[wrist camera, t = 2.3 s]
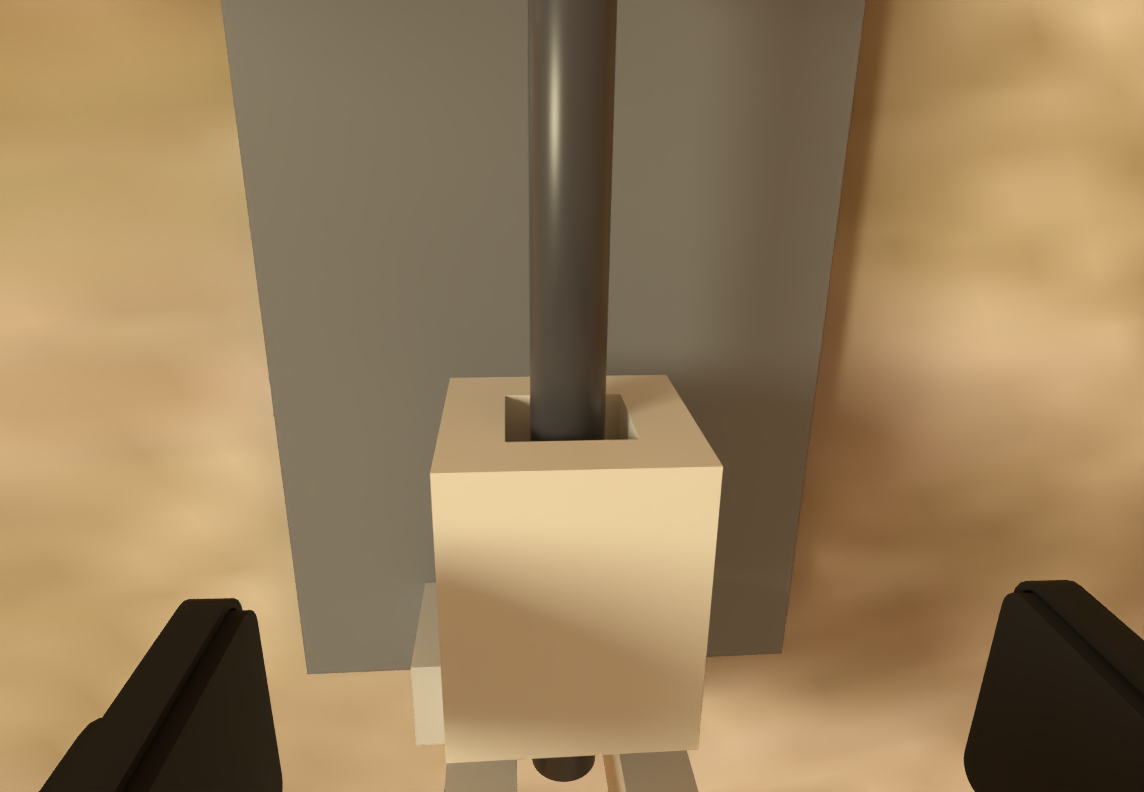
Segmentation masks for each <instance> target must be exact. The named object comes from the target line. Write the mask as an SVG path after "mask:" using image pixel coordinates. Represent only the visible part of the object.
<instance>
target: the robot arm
mask: <svg viewBox="0 0 1144 792" xmlns="http://www.w3.org/2000/svg"><path fill="white" fill-rule="evenodd" d="M964 767H965V771H966V775H967V778H968V780H969V782H970V784H971V786H972V788H973V790H974V791H975V792H1144V640H1143V639H1141V638H1140V637H1139V636H1138V635H1137V634H1136V633H1134V632H1133V631H1132V630H1131V629H1130V628H1129V627H1128V626H1126V625H1125V624H1124V623H1123V622H1122V621H1121V620H1119V619H1118V618H1117V617H1116V616H1115V615H1114V614H1113V613H1111V612H1110V611H1109V610H1108V609H1107V608H1106V607H1105V606H1103V605H1102V604H1101V603H1100V602H1099V601H1098V600H1096V599H1095V598H1094V597H1093V596H1092V595H1091V594H1090V593H1088V592H1087V591H1086V590H1085V589H1084V588H1083V587H1081V586H1080V585H1078V584H1077V583H1075V582H1074V581H1069V580H1047V581H1025V582H1022V583H1020V584H1019V585H1018V586H1017V587H1016V588H1015V590H1014V593H1011V594H1008V595H1007V596H1006V597H1005V598H1004V600H1003V603H1002V606H1001V610H1000V614H999V618H998V622H997V626H996V630H995V634H994V638H993V642H992V646H991V650H990V654H989V658H988V662H987V666H986V669H985V673H984V677H983V681H982V685H981V689H980V693H979V697H978V701H977V705H976V709H975V713H974V717H973V721H972V725H971V729H970V733H969V737H968V741H967V745H966V749H965V753H964ZM282 783H283V782H282V773H281V767H280V760H279V754H278V748H277V741H276V735H275V729H274V722H273V716H272V710H271V703H270V697H269V691H268V684H267V678H266V672H265V665H264V659H263V653H262V646H261V640H260V634H259V627H258V621H257V617H256V614H255V613H254V611H252V610H242V607H241V604H240V602H239V601H238V600H237V599H235V598H224V599H188V600H185V601H184V602H183V603H182V604H181V605H180V606H179V607H178V608H177V610H176V611H175V613H174V614H173V616H172V617H171V619H170V620H169V622H168V623H167V624H166V626H165V627H164V629H163V630H162V632H161V633H160V635H159V636H158V638H157V639H156V640H155V642H154V643H153V645H152V646H151V648H150V649H149V651H148V652H147V653H146V655H145V656H144V658H143V659H142V661H141V662H140V664H139V665H138V667H137V668H136V669H135V671H134V672H133V674H132V675H131V677H130V678H129V680H128V681H127V683H126V684H125V685H124V687H123V688H122V690H121V691H120V693H119V694H118V696H117V697H116V698H115V700H114V701H113V703H112V704H111V706H110V707H109V709H108V710H107V712H106V713H105V714H104V716H103V717H102V718H99V719H97V720H95V721H93V722H91V723H90V724H89V725H88V726H87V727H86V728H85V729H84V730H83V731H82V732H81V734H80V735H79V736H78V737H77V739H76V740H75V742H74V743H73V744H72V746H71V747H70V749H69V750H68V751H67V753H66V754H65V756H64V757H63V759H62V760H61V761H60V763H59V764H58V766H57V767H56V768H55V770H54V771H53V773H52V774H51V776H50V777H49V778H48V780H47V781H46V783H45V784H44V785H43V787H42V788H41V790H40V791H39V792H282Z"/></svg>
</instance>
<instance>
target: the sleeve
mask: <svg viewBox="0 0 1144 792" xmlns="http://www.w3.org/2000/svg"><path fill="white" fill-rule="evenodd" d="M722 473H723V466H722V464H721V462H720V461H719V459H718V458H717V456H716V454H715V453H714V451H713V449H712V448H711V446H710V445H709V443H708V441H707V440H706V438H705V437H704V435H703V433H702V432H701V430H700V428H699V427H698V425H697V424H696V422H695V420H694V419H693V417H692V416H691V414H690V412H689V411H688V409H687V407H686V406H685V404H684V403H683V401H682V399H681V398H680V396H679V395H678V393H677V391H676V390H675V388H674V386H673V385H672V383H671V382H670V380H669V378H668V377H667V375H617V376H606V402H605V436H604V440H583V441H534V442H530V377H470V378H450V380H449V385H448V390H447V395H446V399H445V404H444V409H443V414H442V418H441V423H440V428H439V433H438V438H437V442H436V447H435V452H434V457H433V461H432V466H431V471H430V483H431V501H432V519H433V537H434V555H435V573H436V591H437V609H438V627H439V645H440V663H441V681H442V699H443V717H444V735H445V753H446V763H461V762H480V761H498V760H517V759H536V758H554V757H573V756H591V755H610V754H629V753H647V752H666V751H684V750H698V745H699V733H700V722H701V711H702V699H703V688H704V677H705V665H706V654H707V643H708V631H709V620H710V609H711V598H712V586H713V575H714V564H715V552H716V541H717V530H718V518H719V507H720V496H721V484H722Z"/></svg>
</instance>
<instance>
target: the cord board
mask: <svg viewBox="0 0 1144 792" xmlns="http://www.w3.org/2000/svg"><path fill="white" fill-rule="evenodd" d="M865 2H866V0H221V6H222V14H223V21H224V29H225V37H226V45H227V52H228V60H229V68H230V76H231V84H232V91H233V99H234V107H235V115H236V123H237V130H238V138H239V146H240V154H241V161H242V169H243V177H244V185H245V193H246V200H247V208H248V216H249V224H250V231H251V239H252V247H253V255H254V263H255V270H256V278H257V286H258V294H259V301H260V309H261V317H262V325H263V333H264V340H265V348H266V356H267V364H268V372H269V379H270V387H271V395H272V403H273V410H274V418H275V426H276V434H277V442H278V449H279V457H280V465H281V473H282V480H283V488H284V496H285V504H286V512H287V519H288V527H289V535H290V543H291V550H292V558H293V566H294V574H295V582H296V589H297V597H298V605H299V613H300V621H301V628H302V636H303V644H304V652H305V659H306V667H307V674H323V673H346V672H369V671H392V670H411V679H412V692H413V706H414V720H415V734H416V745H431V744H445V735H444V717H443V699H442V681H441V663H440V645H439V627H438V609H437V591H436V573H435V555H434V537H433V519H432V501H431V483H430V471H431V466H432V461H433V457H434V452H435V447H436V442H437V438H438V433H439V428H440V423H441V418H442V414H443V409H444V404H445V399H446V395H447V390H448V385H449V380H450V378H470V377H530V442H534V441H583V440H604V436H605V402H606V376H617V375H667V377H668V378H669V380H670V382H671V383H672V385H673V386H674V388H675V390H676V391H677V393H678V395H679V396H680V398H681V399H682V401H683V403H684V404H685V406H686V407H687V409H688V411H689V412H690V414H691V416H692V417H693V419H694V420H695V422H696V424H697V425H698V427H699V428H700V430H701V432H702V433H703V435H704V437H705V438H706V440H707V441H708V443H709V445H710V446H711V448H712V449H713V451H714V453H715V454H716V456H717V458H718V459H719V461H720V462H721V464H722V466H723V473H722V484H721V496H720V507H719V518H718V530H717V541H716V552H715V564H714V575H713V586H712V598H711V609H710V620H709V631H708V643H707V654H706V657H711V656H734V655H757V654H780V653H782V647H783V639H784V631H785V623H786V615H787V608H788V600H789V592H790V584H791V577H792V569H793V561H794V553H795V546H796V538H797V530H798V522H799V515H800V507H801V499H802V491H803V483H804V476H805V468H806V460H807V452H808V445H809V437H810V429H811V421H812V414H813V406H814V398H815V390H816V383H817V375H818V367H819V359H820V351H821V344H822V336H823V328H824V320H825V313H826V305H827V297H828V289H829V282H830V274H831V266H832V258H833V251H834V243H835V235H836V227H837V220H838V212H839V204H840V196H841V188H842V181H843V173H844V165H845V157H846V150H847V142H848V134H849V126H850V119H851V111H852V103H853V95H854V88H855V80H856V72H857V64H858V56H859V49H860V41H861V33H862V25H863V18H864V10H865ZM603 759H604V766H605V772H606V779H607V785H608V792H698V789H697V785H696V782H695V778H694V775H693V771H692V768H691V764H690V761H689V757H688V754H687V750H684V751H666V752H647V753H629V754H610V755H603ZM532 760H533V764H534V766H535V768H536V769H537V771H538V772H539V773H540V774H541V775H543V776H544V777H546V778H548V779H551V780H554V781H560V782H568V781H573V780H577V779H579V778H581V777H583V776H584V775H586V774H587V773H588V772H589V771H590V770H591V768H592V767H593V765H594V761H595V755H591V756H573V757H554V758H536V759H532ZM444 792H517V760H498V761H480V762H461V763H447V767H446V778H445V789H444Z"/></svg>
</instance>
